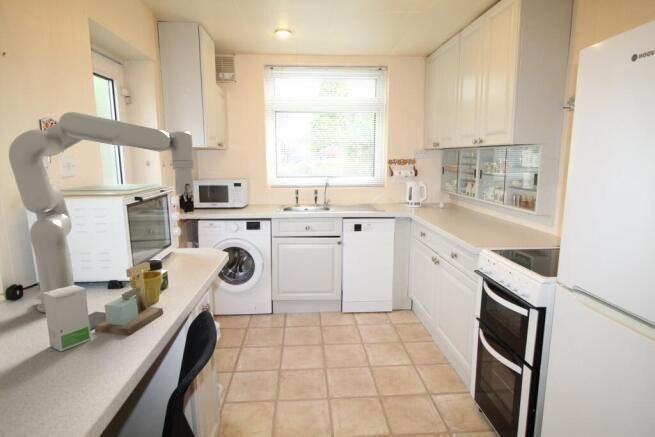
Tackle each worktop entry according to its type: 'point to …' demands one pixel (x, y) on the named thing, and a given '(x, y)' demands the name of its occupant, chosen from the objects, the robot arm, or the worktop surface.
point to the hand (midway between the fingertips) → (186, 210)
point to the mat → (96, 318)
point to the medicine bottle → (157, 266)
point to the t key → (138, 284)
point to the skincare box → (67, 317)
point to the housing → (143, 319)
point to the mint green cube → (121, 311)
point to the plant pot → (150, 285)
